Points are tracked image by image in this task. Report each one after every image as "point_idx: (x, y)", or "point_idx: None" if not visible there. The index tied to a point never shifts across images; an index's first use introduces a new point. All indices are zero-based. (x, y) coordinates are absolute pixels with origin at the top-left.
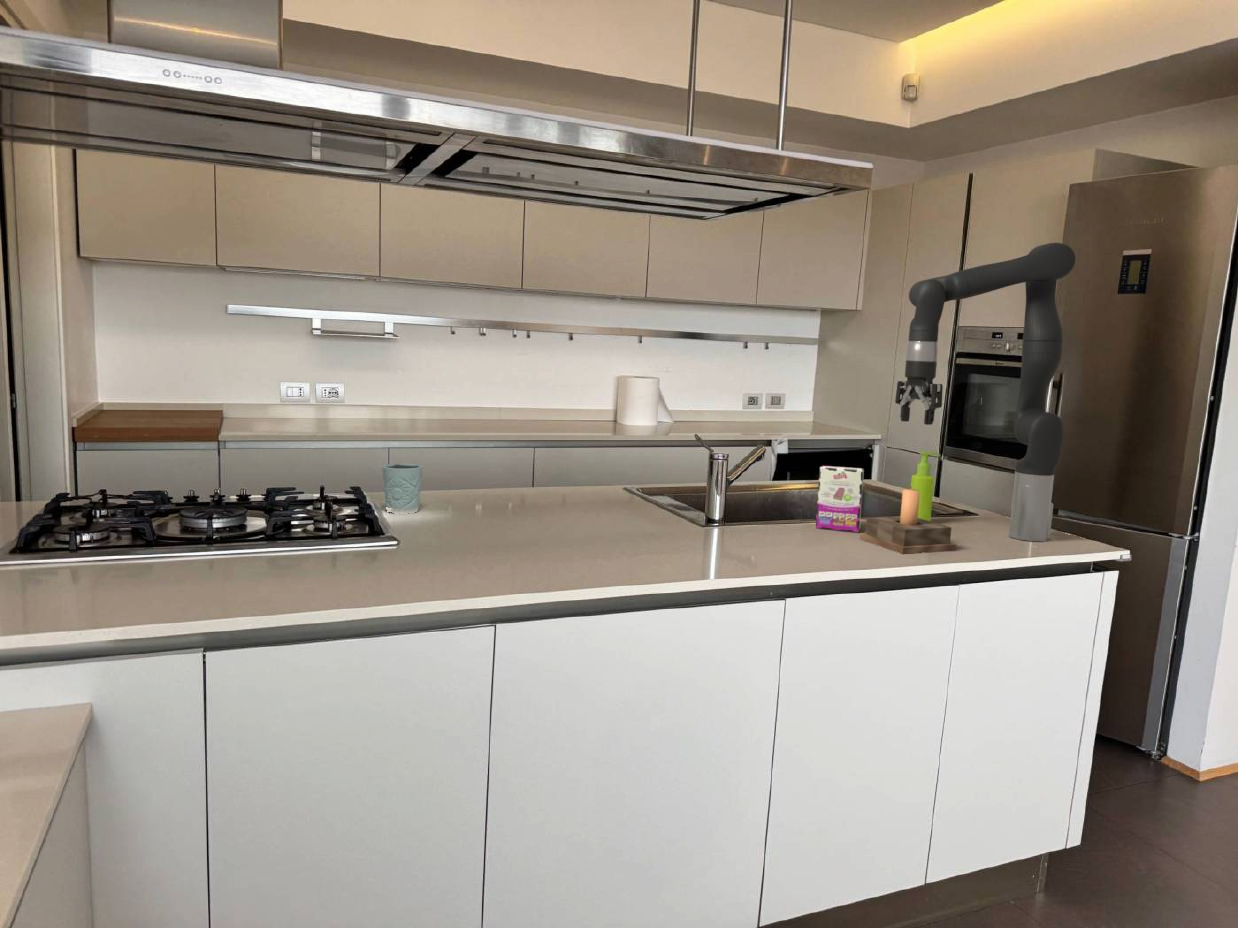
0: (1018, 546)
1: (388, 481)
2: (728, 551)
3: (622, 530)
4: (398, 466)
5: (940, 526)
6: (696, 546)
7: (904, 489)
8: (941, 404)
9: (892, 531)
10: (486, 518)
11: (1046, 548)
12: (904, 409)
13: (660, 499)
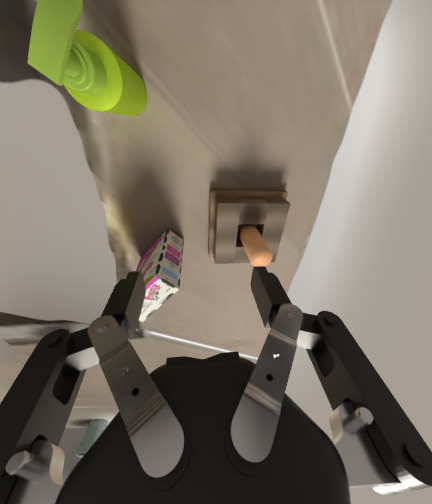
0: (316, 58)
1: None
2: (217, 343)
3: (152, 370)
4: (78, 454)
5: (280, 213)
6: (201, 352)
7: (251, 262)
8: (343, 325)
9: None
10: (116, 404)
11: (352, 5)
12: (135, 325)
13: (6, 335)
